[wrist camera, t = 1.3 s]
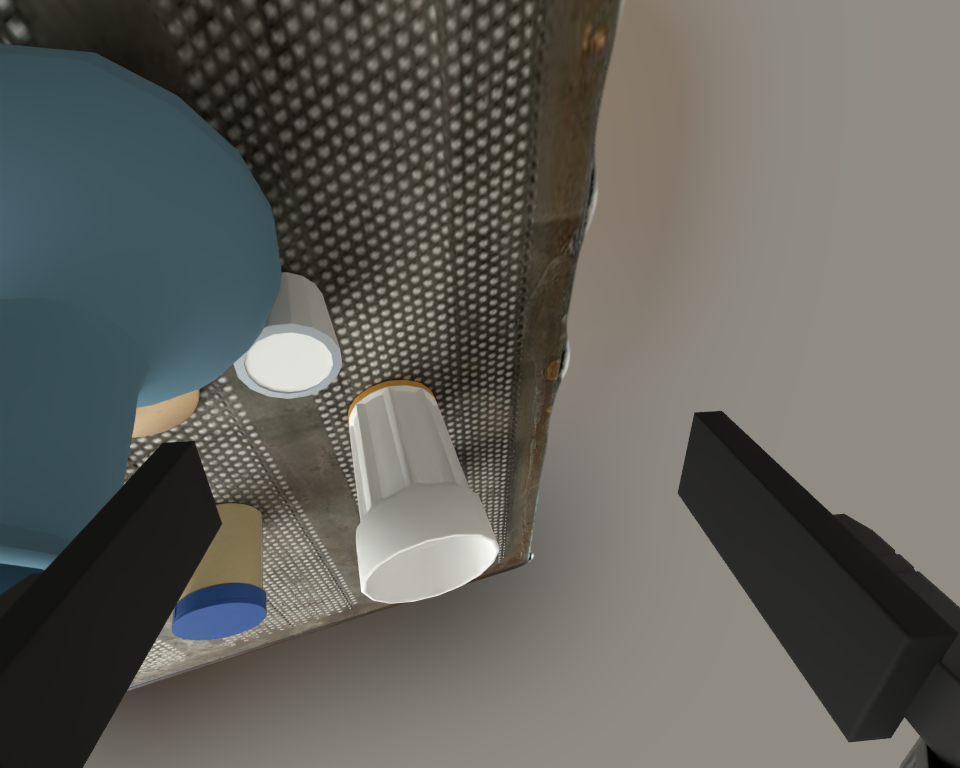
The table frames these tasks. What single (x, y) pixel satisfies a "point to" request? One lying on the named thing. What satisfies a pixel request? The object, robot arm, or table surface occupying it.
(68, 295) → the vase
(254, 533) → the jar
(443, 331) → the table surface
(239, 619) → the jar lid
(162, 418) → the coaster
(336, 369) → the shot glass
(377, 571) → the cup
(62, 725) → the robot arm
